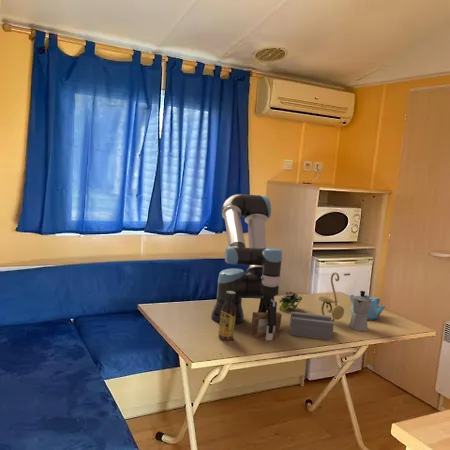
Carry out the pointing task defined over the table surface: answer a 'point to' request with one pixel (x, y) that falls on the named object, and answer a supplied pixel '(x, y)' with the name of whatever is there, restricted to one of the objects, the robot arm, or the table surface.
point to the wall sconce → (337, 310)
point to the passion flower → (289, 300)
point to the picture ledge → (311, 325)
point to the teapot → (371, 308)
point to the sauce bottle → (228, 317)
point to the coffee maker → (360, 312)
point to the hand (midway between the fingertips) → (265, 335)
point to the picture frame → (264, 324)
